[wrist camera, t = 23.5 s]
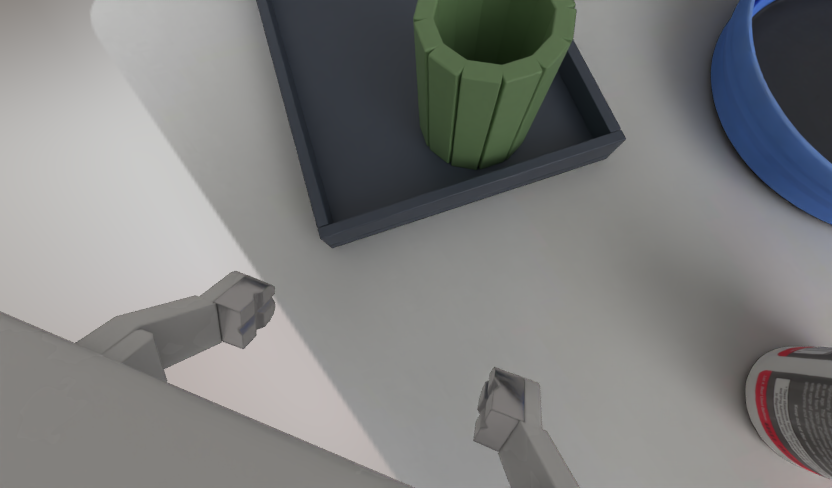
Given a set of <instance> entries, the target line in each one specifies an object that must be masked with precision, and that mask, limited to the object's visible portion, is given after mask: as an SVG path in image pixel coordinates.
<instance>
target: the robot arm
mask: <svg viewBox="0 0 832 488" xmlns="http://www.w3.org/2000/svg"><path fill="white" fill-rule="evenodd" d="M274 294H275V287H274V286H273V285H271V284H268V283H266V282H263V281H261V280H258V279H256V278H253V277H251V276H248V275H245V274H243V273H240V272H238V271H234V272H231V273H230V274H228V275H227V276H226V277H224V278H223V279H222V280H220V281H219V282H218V283H216V284H215V285H214V286H212V287H211V288H210V289H209V290H207V291H206V292H205V293H203V294H202V295H201V296H199V297H198V296H192V297H188V298H184V299H180V300H176V301H173V302H169V303H166V304H162V305H158V306H154V307H150V308H146V309H143V310H139V311H135V312H131V313H128V314H124V315H120V316H116V317H114V318H113V319H111V320H110V321H108V322H106V323H105V324H103V325H102V326H100V327H99V328H98V329H96V330H94V331H93V332H91V333H90V334H89V335H87V336H85V337H84V338H82V339H81V340H79V341H78V342H76V343H73V342H71V341H68V340H66V339H64V338H61V337H59V336H57V335H54V334H52V333H50V332H47V331H45V330H43V329H40V328H38V327H35V326H33V325H31V324H29V323H26V322H24V321H22V320H19V319H17V318H15V317H12V316H10V315H7V314H5V313H3V312H0V488H414V487H412V486H410V485H407V484H405V483H402V482H400V481H398V480H395V479H393V478H391V477H388V476H386V475H384V474H381V473H379V472H377V471H374V470H372V469H369V468H367V467H365V466H363V465H360V464H358V463H355V462H353V461H351V460H348V459H346V458H344V457H341V456H339V455H337V454H334V453H332V452H329V451H327V450H325V449H323V448H320V447H318V446H315V445H313V444H311V443H308V442H306V441H304V440H301V439H299V438H296V437H294V436H292V435H290V434H287V433H285V432H282V431H280V430H277V429H275V428H273V427H271V426H268V425H266V424H264V423H261V422H259V421H256V420H254V419H252V418H249V417H247V416H245V415H242V414H240V413H238V412H235V411H233V410H231V409H228V408H226V407H224V406H221V405H219V404H217V403H214V402H212V401H209V400H207V399H205V398H202V397H200V396H198V395H195V394H193V393H191V392H188V391H186V390H184V389H181V388H179V387H177V386H174V385H172V384H169V383H167V378H166V375H165V372H164V369H165V368H168V367H170V366H172V365H174V364H176V363H178V362H181V361H183V360H185V359H187V358H189V357H191V356H194V355H196V354H198V353H200V352H202V351H204V350H206V349H209V348H211V347H213V346H215V345H217V344H220V343H221V342H222V341H223V342H226V343H228V344H231V345H234V346H236V347H239V348H242V349H244V348H245V347H246V346H247V345H248V344H249V343H250V342H251V341H252V340H253V338H254V337H255V336H256V330H257V329H260V328H263V327H265V326H266V325H267V323H268V322H269V321H270V320H271V318H272V316H273V314H274V310H275V302H274V300H273V298H272V296H273V295H274ZM477 410H478V412H479V414H480V415H479V416H478V418H477V420H476V423H475V431H474V439H473V441H475V442H477V443H479V444H482V445H484V446H486V447H489V448H491V449H493V450H495V451H498V452H499V453H498V454H499V457H500V460H501V462H502V465H503V468H504V470H505V473H506V476H507V479H508V481H509V484H510V487H511V488H580V487H579V485H578V483H577V482H576V480H575V478H574V477H573V475H572V473H571V471H570V470H569V468H568V466H567V465H566V463H565V461H564V460H563V458H562V456H561V454H560V453H559V451H558V449H557V448H556V446H555V444H554V443H553V441H552V439H551V437H550V436H549V434H548V432H547V431H545V430H543V429H542V413H541V391H540V384H539V383H537V382H535V381H532V380H529V379H526V378H523V377H521V376H519V375H516V374H513V373H510V372H507V371H505V370H502V369H499V368H496V367H494V368H493V369H492V370H491V372H490V375H489V381H486V382H485V384H484V386H483V388H482V391H481V394H480V397H479V402H478V408H477Z"/></svg>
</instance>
